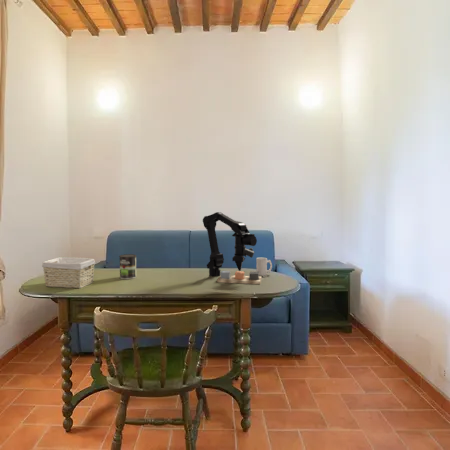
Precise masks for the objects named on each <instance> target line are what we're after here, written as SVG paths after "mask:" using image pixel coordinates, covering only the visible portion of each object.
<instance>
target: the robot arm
mask: <svg viewBox="0 0 450 450" xmlns="http://www.w3.org/2000/svg"><path fill="white" fill-rule="evenodd" d="M218 221H220V222H222V223H224V224H225V225H227V226H228V227H229V228H230V230H231V231H232V232H234V233H233V234H232V235H231V237H234V256H233V257H232V262H234V263H235V265H236V267H237V271H241V270H242V266H243V263H244V261H245V260H246V258H247V256H248V257H249V258H253V257H254V255H255V251H254V248H252V247H255V246H256V245H257V242H258V241H257V236H256V235H255V233H250V231H249V229H248V227H247V225H246V223H244V222H242V221H238V220H235V219H233V218H232V217H229V216H228V215H226V214H224V213H223V212H221V211H218V212H214V213H212V214H209V215H205V216H204V217H203V218H202V222H203V223H202V224H203V228H205V229H206V231H207V236H208V242H209V247H210V256H209V262H208V263H207V264H206V268H207V269H208V275H209V277H220V275H221V272H222V270H221V268H222V267H223V263H224V261H225V258H224V254H223V253H221V252H220V250H219V249H220V248H219V243H218V239H217V233H216V228H217V227H216V226H217V222H218ZM246 246H250V247H249V248H246ZM251 246H252V247H251Z"/></svg>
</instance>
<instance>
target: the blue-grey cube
mask: <svg viewBox="0 0 450 450" xmlns="http://www.w3.org/2000/svg"><path fill="white" fill-rule="evenodd" d="M230 275H231V270H221V278H223V279H230Z"/></svg>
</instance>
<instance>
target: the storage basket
mask: <svg viewBox="0 0 450 450" xmlns="http://www.w3.org/2000/svg"><path fill="white" fill-rule="evenodd" d="M95 264H96V261H95V258H89V257H88V258H87V257H60V256H59V257H55V258H52V259H49V260H45V261H42V265H41V267H42V268H43V269H42V270H43V274H44V282H45V287H49V288H50V287H51V288H52V287H53V288H65V289H66V288H67V289H71V288H74V289H82V288H83V287H86V286H89V285H91V284H93V283H94V279H95V278H94V276H95Z"/></svg>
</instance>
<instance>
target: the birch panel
mask: <svg viewBox="0 0 450 450" xmlns="http://www.w3.org/2000/svg"><path fill="white" fill-rule="evenodd" d="M262 277H263V276H259V280H249V279H250V275H244V279H235V274H234V275H232V274H230V279H223V278H221V275H220V276H218V278H217V280H216V283H225V284H226V283H227V284H229V283H230V284H246V285H247V284H249V285H252V284H253V285H261V283H262Z"/></svg>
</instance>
